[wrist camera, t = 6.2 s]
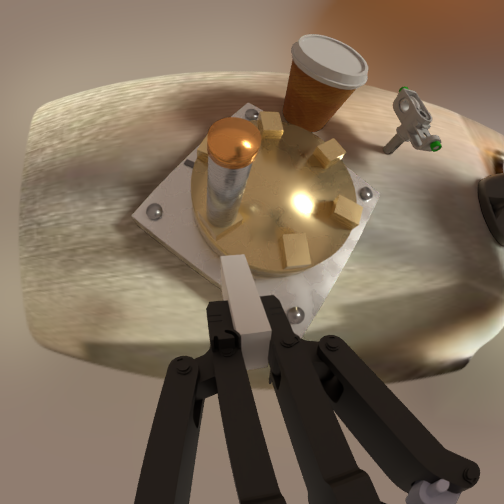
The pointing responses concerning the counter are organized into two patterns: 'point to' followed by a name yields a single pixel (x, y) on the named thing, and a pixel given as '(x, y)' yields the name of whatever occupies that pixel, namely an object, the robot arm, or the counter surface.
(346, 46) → the disposable coffee cup
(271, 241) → the brass turntable plate
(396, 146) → the mechanical component
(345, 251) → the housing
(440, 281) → the counter surface
